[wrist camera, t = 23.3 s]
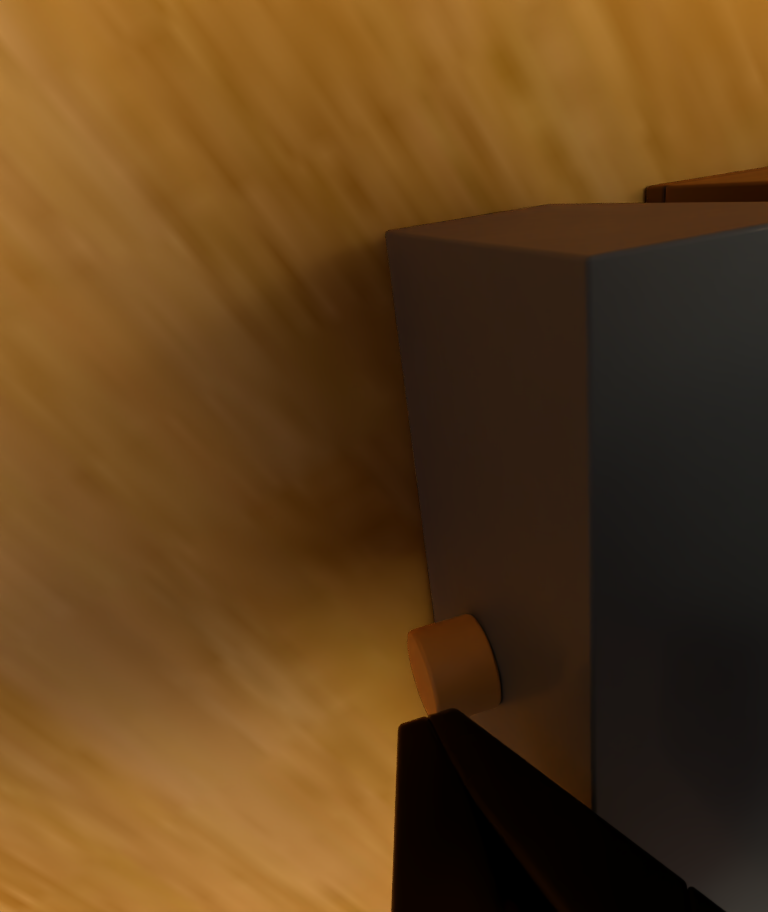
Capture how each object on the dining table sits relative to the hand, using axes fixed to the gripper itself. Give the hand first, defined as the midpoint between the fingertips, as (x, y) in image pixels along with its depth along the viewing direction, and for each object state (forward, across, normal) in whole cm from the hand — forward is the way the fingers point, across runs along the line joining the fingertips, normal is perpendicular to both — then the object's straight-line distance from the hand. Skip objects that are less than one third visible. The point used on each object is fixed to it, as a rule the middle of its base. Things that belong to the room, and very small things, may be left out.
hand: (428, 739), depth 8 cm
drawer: (+4, -7, 0) cm, 8 cm away
